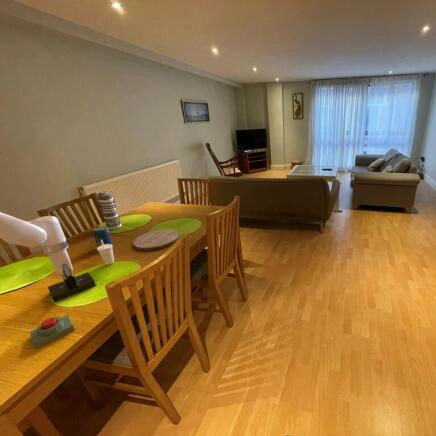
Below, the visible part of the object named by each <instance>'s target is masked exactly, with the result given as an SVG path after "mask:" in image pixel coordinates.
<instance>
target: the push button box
mask: <svg viewBox="0 0 436 436" xmlns="http://www.w3.org/2000/svg"><path fill="white" fill-rule="evenodd" d="M54 318H55V319H56V321H57V324H56V325H55V326H53V327H51V328H49V329H43V328H42V326H41V323H40V324H39V325H38V326H37V327H36V328H35V329H32V330H30V331H29V335H30V338H31V342H32V345H33V347H34V349H35V350H37V349H39V348H42V347H43V346H45V345H47V344H49V343H51V342H54V341H55V340H57V339H59V338H61V337H63V336H66V335H67V334H70V333H72V332H73V331H75V330H76V329H75V327H74V325H73V323H72V320H71V318H70V316H69V314H65V315H64V316H61V317H59V316H57V317H54Z"/></svg>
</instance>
